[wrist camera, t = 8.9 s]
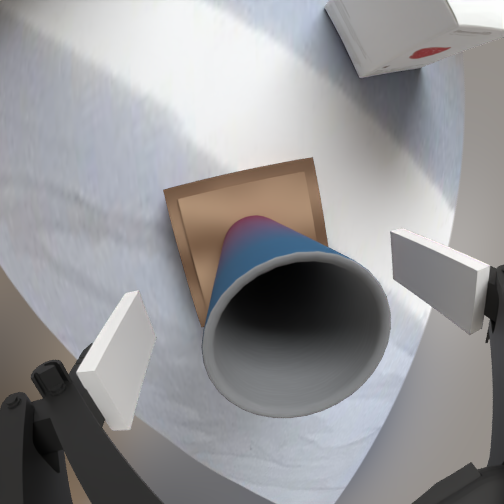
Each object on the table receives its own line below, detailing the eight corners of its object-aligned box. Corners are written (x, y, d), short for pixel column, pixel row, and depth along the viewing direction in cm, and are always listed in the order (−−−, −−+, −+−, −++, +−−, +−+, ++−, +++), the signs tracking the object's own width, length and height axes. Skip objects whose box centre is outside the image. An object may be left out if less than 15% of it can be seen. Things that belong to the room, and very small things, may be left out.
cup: (311, 260, 25) (408, 360, 11) (239, 301, 26) (263, 440, 11) (271, 187, 23) (351, 210, 9) (195, 232, 24) (160, 320, 9)
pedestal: (169, 188, 26) (162, 190, 23) (303, 158, 26) (313, 157, 23) (202, 312, 29) (201, 328, 26) (324, 283, 30) (335, 296, 26)
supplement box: (357, 81, 25) (458, 27, 11) (321, 6, 23) (386, -80, 8) (423, 69, 25) (523, 35, 11) (390, 1, 23) (468, -58, 8)
